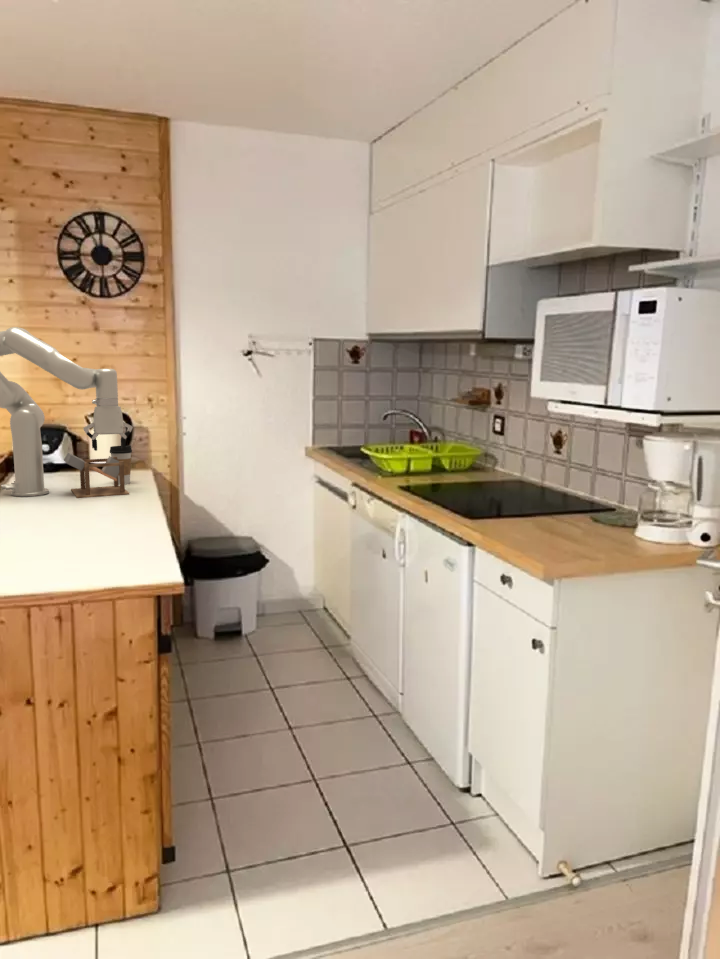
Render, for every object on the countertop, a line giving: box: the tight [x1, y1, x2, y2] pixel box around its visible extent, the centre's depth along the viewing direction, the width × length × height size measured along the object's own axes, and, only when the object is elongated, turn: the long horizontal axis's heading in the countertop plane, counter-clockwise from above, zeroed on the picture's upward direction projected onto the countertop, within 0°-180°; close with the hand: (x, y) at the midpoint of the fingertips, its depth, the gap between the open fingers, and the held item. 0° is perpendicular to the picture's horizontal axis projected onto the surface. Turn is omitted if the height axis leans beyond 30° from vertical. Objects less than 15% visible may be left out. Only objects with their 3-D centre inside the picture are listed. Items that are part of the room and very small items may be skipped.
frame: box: [70, 457, 130, 499], centre depth 274 cm, size 18×17×12 cm
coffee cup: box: [109, 444, 133, 486], centre depth 294 cm, size 8×8×15 cm
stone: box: [101, 455, 119, 478], centre depth 276 cm, size 5×5×6 cm
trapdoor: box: [63, 452, 117, 482], centre depth 273 cm, size 18×10×3 cm, turn 117°
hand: (109, 449), depth 275 cm, fingers open, 9 cm apart
